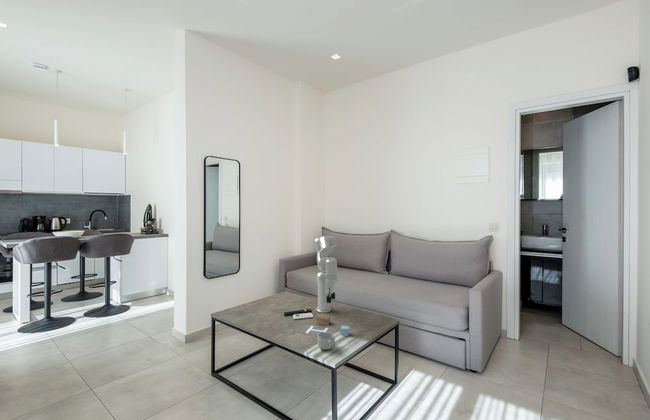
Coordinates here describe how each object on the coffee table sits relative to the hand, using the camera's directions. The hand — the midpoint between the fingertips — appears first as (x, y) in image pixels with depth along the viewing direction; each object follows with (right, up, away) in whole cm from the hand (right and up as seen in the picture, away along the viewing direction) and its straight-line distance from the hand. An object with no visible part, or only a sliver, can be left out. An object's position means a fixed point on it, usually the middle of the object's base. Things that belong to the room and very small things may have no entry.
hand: (330, 300), depth 221 cm
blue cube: (+9, -20, -11) cm, 24 cm away
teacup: (-3, -20, -31) cm, 37 cm away
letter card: (-10, -19, -5) cm, 22 cm away
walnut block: (-5, -19, +8) cm, 22 cm away
